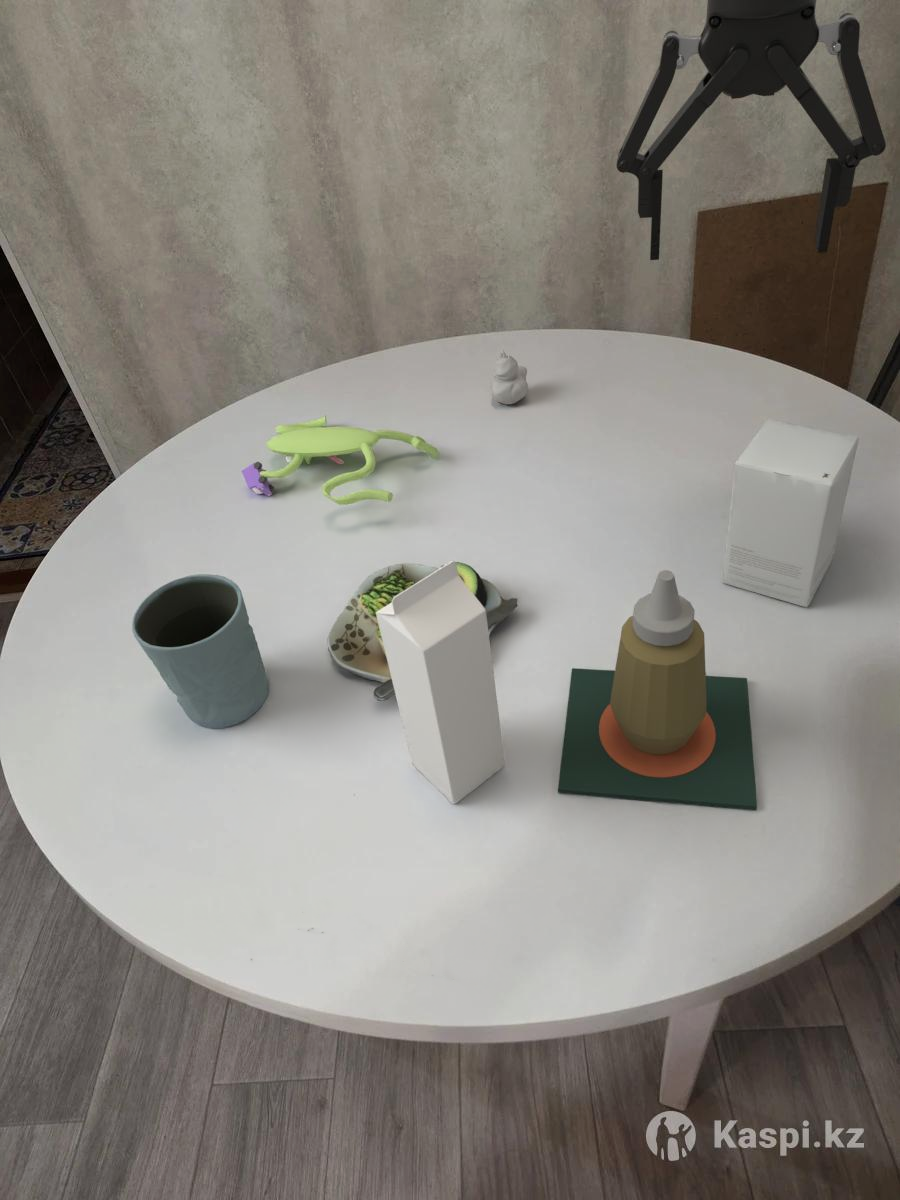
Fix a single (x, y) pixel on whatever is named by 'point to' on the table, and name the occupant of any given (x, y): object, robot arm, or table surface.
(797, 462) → the white product box
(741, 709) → the mat
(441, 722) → the milk
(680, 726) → the squeeze bottle
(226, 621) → the grey-green cup
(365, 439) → the figurine
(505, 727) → the table surface
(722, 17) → the robot arm
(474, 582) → the salad plate
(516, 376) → the rubber duck
